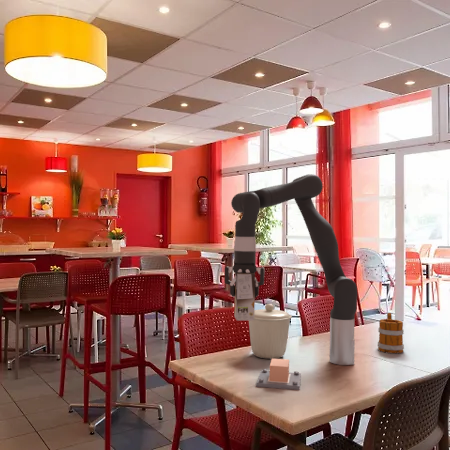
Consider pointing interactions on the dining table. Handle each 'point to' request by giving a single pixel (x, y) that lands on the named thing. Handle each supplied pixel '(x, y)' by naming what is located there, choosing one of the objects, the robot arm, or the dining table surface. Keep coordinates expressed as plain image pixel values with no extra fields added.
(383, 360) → the dining table surface
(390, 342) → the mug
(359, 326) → the dining table surface
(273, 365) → the brick
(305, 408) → the dining table surface
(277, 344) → the canister
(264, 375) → the plate
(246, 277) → the coffee box
